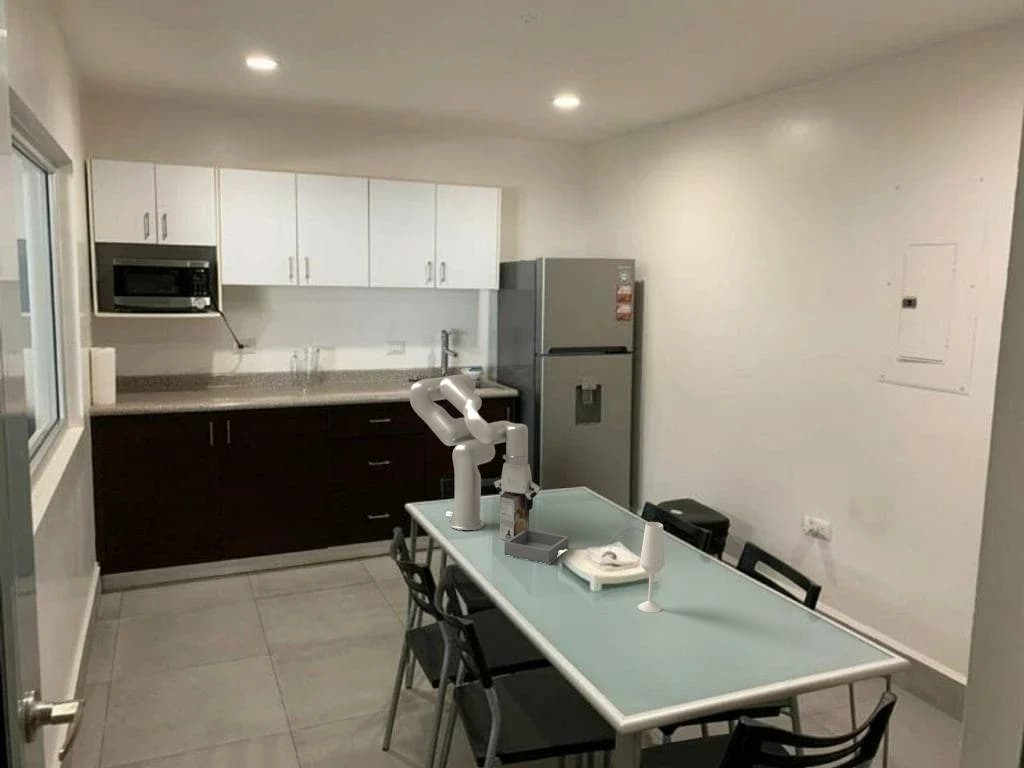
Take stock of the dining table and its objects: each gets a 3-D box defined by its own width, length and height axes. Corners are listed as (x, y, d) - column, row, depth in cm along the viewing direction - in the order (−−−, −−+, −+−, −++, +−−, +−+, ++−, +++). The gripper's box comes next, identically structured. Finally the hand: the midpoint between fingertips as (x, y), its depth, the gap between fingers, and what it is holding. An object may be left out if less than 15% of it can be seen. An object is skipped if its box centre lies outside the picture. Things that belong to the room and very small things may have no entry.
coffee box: (514, 533, 276) (516, 489, 274) (529, 537, 273) (530, 492, 270) (499, 539, 269) (500, 494, 267) (513, 543, 265) (514, 498, 263)
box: (504, 555, 254) (504, 542, 253) (525, 541, 268) (526, 529, 267) (548, 564, 246) (549, 551, 246) (568, 549, 261) (568, 537, 260)
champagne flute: (644, 613, 212) (648, 529, 209) (633, 603, 218) (637, 521, 215) (666, 611, 214) (671, 527, 211) (655, 601, 220) (659, 520, 217)
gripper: (489, 459, 268) (489, 507, 270) (534, 464, 260) (534, 513, 262) (500, 455, 274) (499, 502, 276) (544, 460, 266) (543, 508, 268)
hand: (516, 507), depth 269 cm, fingers open, 9 cm apart
